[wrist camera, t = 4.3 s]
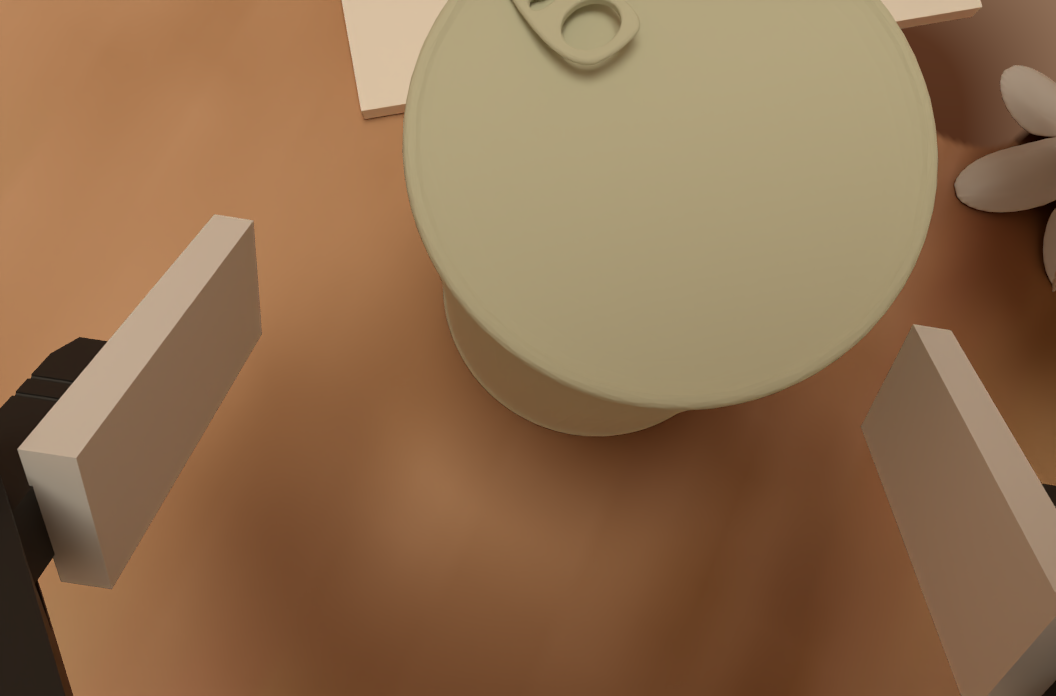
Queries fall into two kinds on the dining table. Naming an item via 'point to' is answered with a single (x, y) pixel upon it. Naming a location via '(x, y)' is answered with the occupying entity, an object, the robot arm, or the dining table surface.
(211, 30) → the dining table surface
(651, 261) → the can
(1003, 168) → the flower vase
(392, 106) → the card
